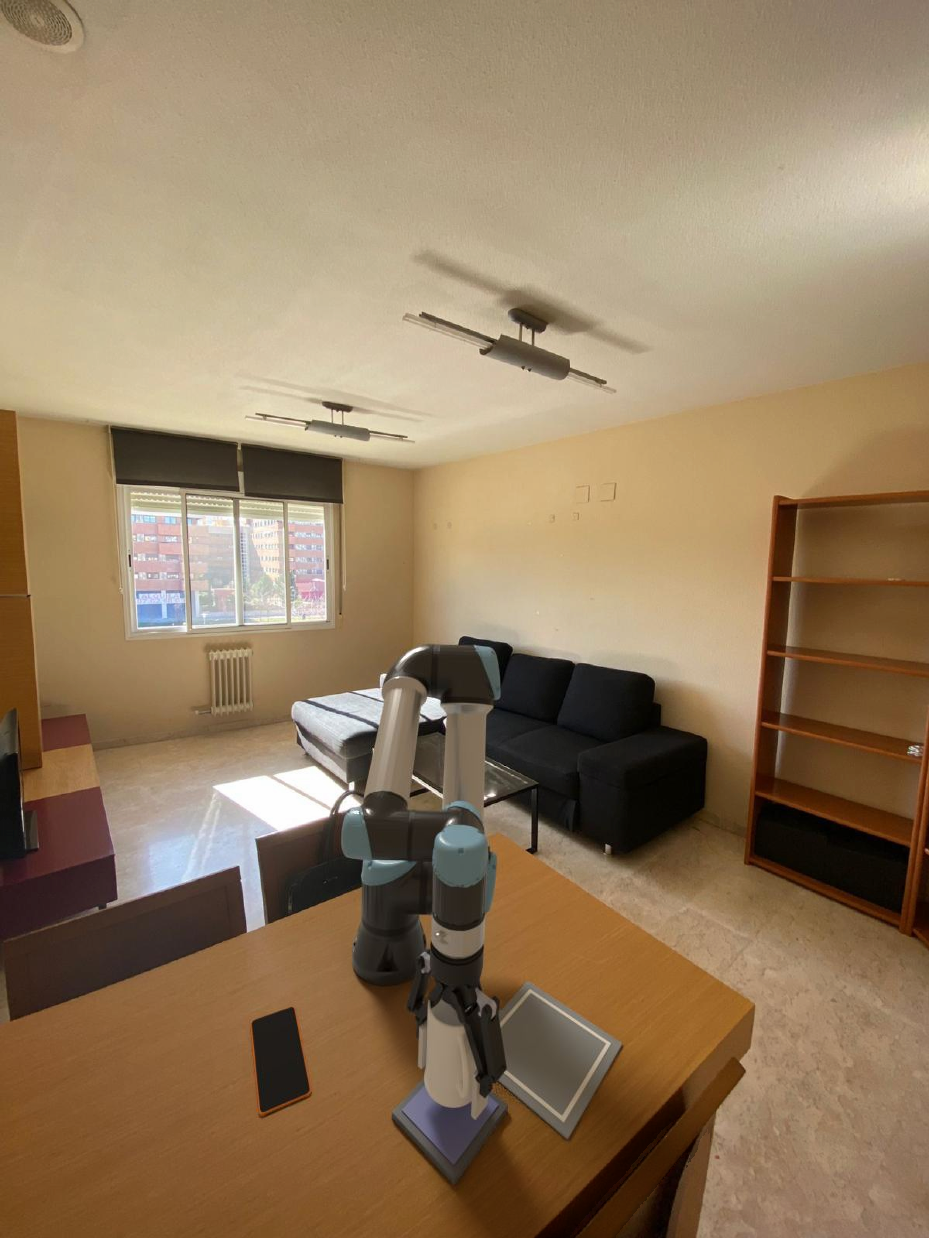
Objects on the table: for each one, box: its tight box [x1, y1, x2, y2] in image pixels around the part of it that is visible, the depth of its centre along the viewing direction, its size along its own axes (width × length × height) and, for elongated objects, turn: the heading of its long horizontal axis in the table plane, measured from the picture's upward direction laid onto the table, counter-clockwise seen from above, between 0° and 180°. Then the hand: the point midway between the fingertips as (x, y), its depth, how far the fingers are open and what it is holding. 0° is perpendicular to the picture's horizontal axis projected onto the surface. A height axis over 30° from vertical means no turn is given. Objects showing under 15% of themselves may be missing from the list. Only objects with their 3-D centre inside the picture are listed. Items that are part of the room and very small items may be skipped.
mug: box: [423, 999, 477, 1108], centre depth 72 cm, size 12×8×12 cm
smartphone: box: [249, 1006, 312, 1118], centre depth 81 cm, size 8×17×1 cm, turn 27°
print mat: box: [497, 980, 623, 1141], centre depth 84 cm, size 19×19×1 cm
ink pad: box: [391, 1077, 509, 1186], centre depth 73 cm, size 12×12×1 cm
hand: (451, 1084), depth 73 cm, fingers closed on mug, 10 cm apart
